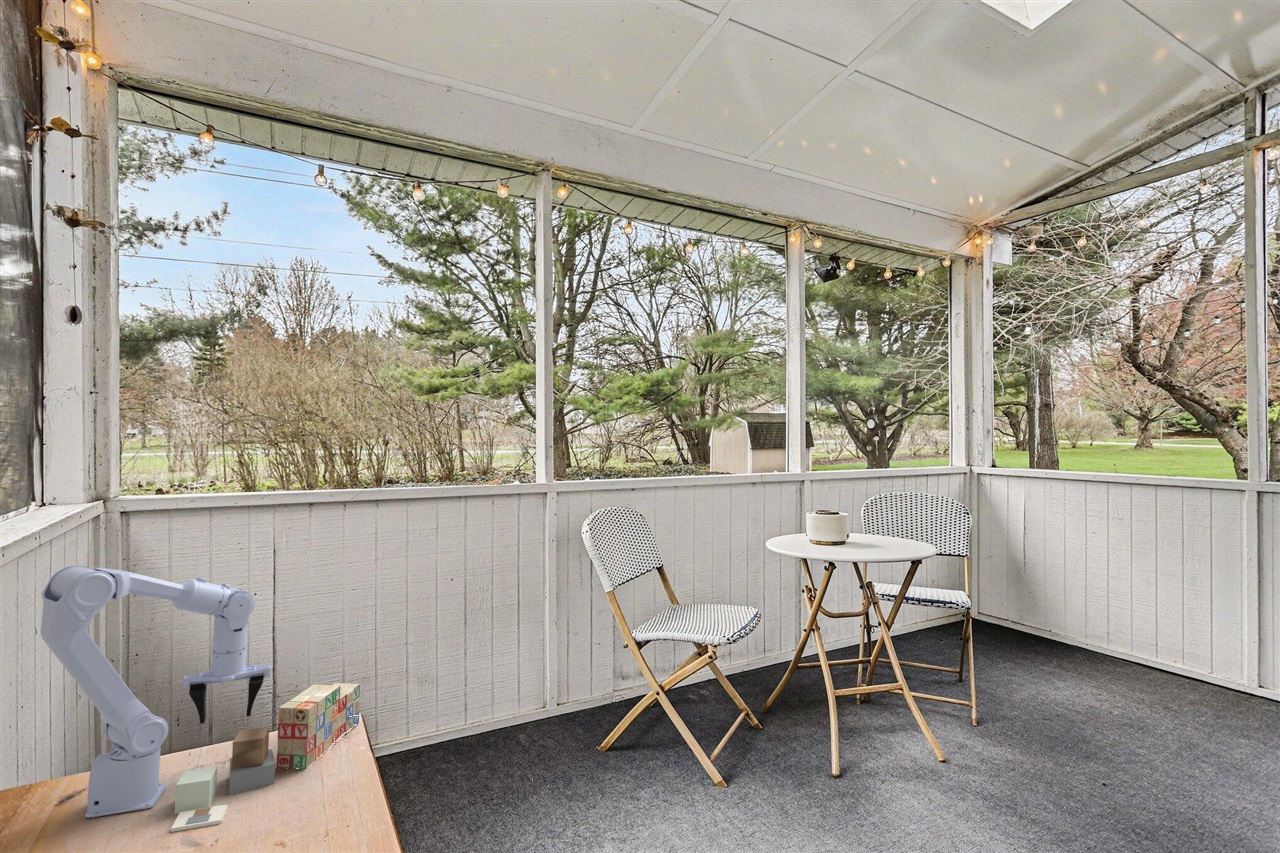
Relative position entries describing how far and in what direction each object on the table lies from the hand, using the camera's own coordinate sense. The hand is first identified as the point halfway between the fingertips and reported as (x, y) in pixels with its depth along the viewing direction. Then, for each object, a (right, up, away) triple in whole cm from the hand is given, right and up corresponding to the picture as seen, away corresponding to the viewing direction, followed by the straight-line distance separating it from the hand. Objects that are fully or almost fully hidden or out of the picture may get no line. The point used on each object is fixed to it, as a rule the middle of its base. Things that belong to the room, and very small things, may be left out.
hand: (226, 717), depth 124 cm
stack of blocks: (+14, -11, +10) cm, 20 cm away
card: (+8, -9, -18) cm, 22 cm away
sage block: (+4, -9, -13) cm, 17 cm away
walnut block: (+8, -6, -6) cm, 12 cm away
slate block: (+9, -10, -6) cm, 14 cm away
